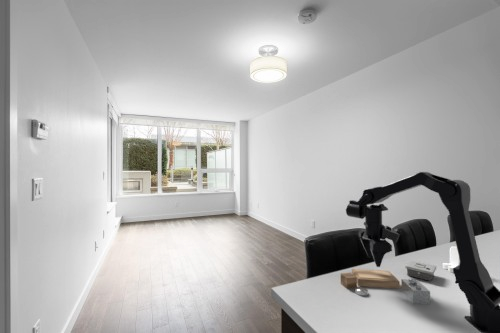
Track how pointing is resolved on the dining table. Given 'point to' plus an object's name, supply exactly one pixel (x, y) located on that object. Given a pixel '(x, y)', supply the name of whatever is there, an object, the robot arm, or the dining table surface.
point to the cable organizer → (452, 259)
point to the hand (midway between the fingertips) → (373, 261)
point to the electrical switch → (420, 270)
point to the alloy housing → (415, 291)
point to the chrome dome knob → (361, 291)
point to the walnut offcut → (348, 280)
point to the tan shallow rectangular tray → (375, 278)
